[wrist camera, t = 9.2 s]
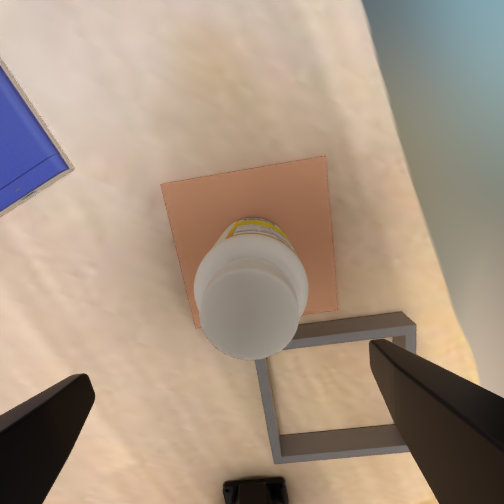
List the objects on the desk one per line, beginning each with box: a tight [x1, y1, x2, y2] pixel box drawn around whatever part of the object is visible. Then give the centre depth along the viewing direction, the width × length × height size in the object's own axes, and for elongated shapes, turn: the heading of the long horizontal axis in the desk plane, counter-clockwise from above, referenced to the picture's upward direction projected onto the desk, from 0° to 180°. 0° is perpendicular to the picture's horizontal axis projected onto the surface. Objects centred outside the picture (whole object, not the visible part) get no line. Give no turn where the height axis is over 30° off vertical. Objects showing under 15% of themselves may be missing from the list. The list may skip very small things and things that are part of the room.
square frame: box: [255, 312, 416, 464], centre depth 22 cm, size 13×13×2 cm
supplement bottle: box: [194, 217, 309, 360], centre depth 15 cm, size 6×6×10 cm
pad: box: [161, 156, 338, 328], centre depth 20 cm, size 12×12×1 cm
